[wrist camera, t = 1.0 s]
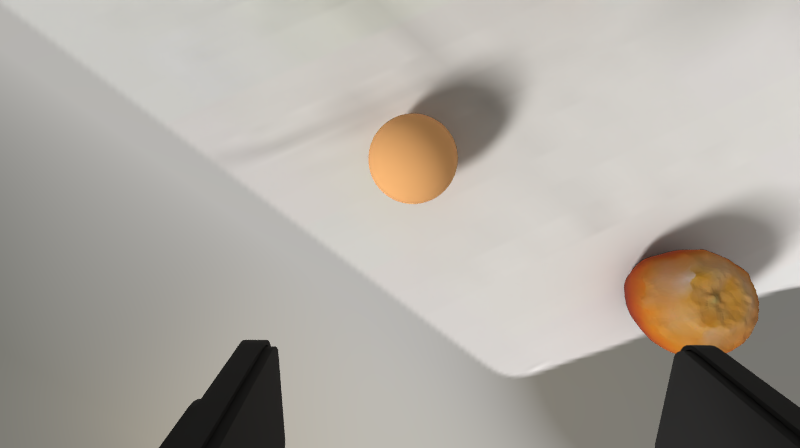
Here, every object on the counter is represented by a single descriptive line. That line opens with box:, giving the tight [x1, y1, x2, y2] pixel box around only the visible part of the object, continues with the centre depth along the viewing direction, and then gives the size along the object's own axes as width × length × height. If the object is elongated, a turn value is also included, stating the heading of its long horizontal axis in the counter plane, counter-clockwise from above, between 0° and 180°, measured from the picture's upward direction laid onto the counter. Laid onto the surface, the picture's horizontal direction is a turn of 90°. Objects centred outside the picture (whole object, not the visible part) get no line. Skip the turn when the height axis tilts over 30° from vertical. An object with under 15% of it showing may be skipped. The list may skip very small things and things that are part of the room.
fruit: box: [624, 249, 759, 354], centre depth 31 cm, size 8×8×8 cm
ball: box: [369, 114, 458, 204], centre depth 27 cm, size 6×6×6 cm
